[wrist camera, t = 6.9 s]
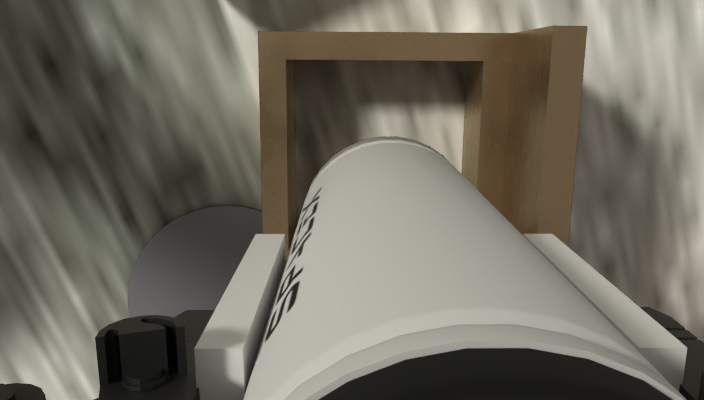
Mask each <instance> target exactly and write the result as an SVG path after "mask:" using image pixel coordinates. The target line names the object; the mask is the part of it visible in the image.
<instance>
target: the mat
mask: <svg viewBox="0 0 704 400" xmlns="http://www.w3.org/2000/svg"><path fill="white" fill-rule="evenodd" d="M255 234H263V221H262V211H260V210H257V209H253V208H248V207H243V206H232V205H223V206H212V207H206V208H201V209H198V210H195V211H192V212H189V213H187V214H185V215H183V216H180V217H178V218H176V219H175V220H173V221H172V222H170V223H169V224H167V225H166V226H165V227H163V228H162V229H161V230H160V231H159V232H158V233H157V234H156V235H154V236H153V237H152V239H151V240H150V241H149V242H148V243H147V245H146V246H145V247H144V249H143V250H142V252H141V253H140V255H139V257H138V259H137V261H136V263H135V265H134V268H133V271H132V274H131V278H130V281H129V289H128V309H129V316H130V318H131V317H137V316H145V315H162V316H170V317H173V318H174V317H176V316H177V315H179V314H181V313H182V312H184V311H186V310H215V309H216V307H217V305H218V303H219V302H220V300H221V298H222V296H223V294H224V292H225V290H226V289H227V287H228V285H229V283H230V281H231V279H232V277H233V275H234V274H235V272H236V270H237V268H238V266H239V264H240V262H241V261H242V259H243V257H244V255H245V253H246V251H247V249H248V248H249V246H250V244H251V242H252V240H253V238H254V236H255Z"/></svg>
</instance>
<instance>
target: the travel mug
mask: <svg viewBox="0 0 704 400" xmlns="http://www.w3.org/2000/svg"><path fill="white" fill-rule="evenodd" d="M243 400H686V399H685V398H684V397H683V396H682V395H681V394H680V393H679V392H678V391H677V390H676V389H675V388H674V387H673V386H672V385H671V384H670V383H669V382H668V381H667V380H666V379H665V378H664V377H663V376H662V375H661V374H660V373H659V372H658V371H657V370H656V369H655V368H654V367H653V366H652V365H651V364H650V363H649V362H648V361H647V360H646V359H645V358H644V357H643V356H642V355H641V354H640V353H639V352H638V351H637V350H636V349H635V348H634V346H633V345H632V344H631V343H630V342H629V341H628V340H627V339H626V338H625V337H624V336H623V335H622V334H621V333H620V332H619V331H618V330H617V329H616V328H615V327H614V326H613V325H612V324H611V323H610V322H609V321H608V320H607V319H606V318H605V317H604V316H603V315H602V314H601V313H600V312H599V311H598V310H597V309H596V308H595V307H594V306H593V305H592V304H591V303H590V302H589V301H588V300H587V299H586V298H585V297H584V296H583V295H582V294H581V293H580V292H579V291H578V290H577V289H576V288H575V287H574V286H573V285H572V284H571V283H570V282H569V281H568V280H567V279H566V278H565V277H564V276H563V275H562V274H561V273H560V272H559V271H558V270H557V269H556V268H555V267H554V266H553V265H552V264H551V263H550V262H549V261H548V260H547V259H546V258H545V257H544V256H543V255H542V254H541V253H540V252H539V251H538V250H537V249H536V248H535V247H534V246H533V245H532V244H531V243H530V242H529V241H528V240H527V239H526V238H525V237H524V236H523V235H522V234H521V233H520V232H519V231H518V230H517V229H516V228H515V227H514V226H513V225H512V224H511V223H510V222H509V221H508V220H507V219H506V218H505V217H504V216H503V215H502V214H501V213H500V212H499V211H498V210H497V209H496V208H495V207H494V206H493V205H492V204H491V203H490V202H489V201H488V200H487V199H486V198H485V197H484V196H483V195H482V194H481V193H480V192H479V191H478V190H477V189H476V188H475V187H474V186H473V185H472V184H471V183H470V182H469V181H468V180H467V179H466V178H465V177H464V176H463V175H462V174H461V173H460V172H459V171H458V170H457V169H456V168H455V167H454V166H453V165H452V164H451V163H450V162H449V161H448V160H447V159H446V158H445V157H444V156H443V155H441V154H440V153H438V152H437V151H435V150H434V149H432V148H431V147H430V146H427V145H425V144H422V143H420V142H418V141H415V140H412V139H406V138H401V137H376V138H371V139H366V140H362V141H360V142H357V143H355V144H352V145H350V146H348V147H346V148H344V149H343V150H341V151H340V152H338V153H337V154H335V155H334V156H333V157H332V158H331V159H330V160H329V161H328V162H327V163H326V164H325V165H324V166H323V167H322V168H321V169H320V171H319V172H318V174H317V175H316V177H315V178H314V180H313V181H312V183H311V186H310V188H309V191H308V193H307V196H306V198H305V202H304V205H303V208H302V211H301V215H300V218H299V221H298V224H297V228H296V231H295V234H294V237H293V241H292V244H291V247H290V250H289V254H288V257H287V260H286V263H285V266H284V270H283V273H282V276H281V279H280V283H279V286H278V289H277V292H276V296H275V299H274V302H273V305H272V309H271V312H270V315H269V318H268V322H267V325H266V328H265V331H264V335H263V338H262V341H261V344H260V347H259V351H258V354H257V357H256V360H255V364H254V367H253V370H252V373H251V377H250V380H249V383H248V386H247V390H246V393H245V396H244V399H243Z"/></svg>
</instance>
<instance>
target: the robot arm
mask: <svg viewBox="0 0 704 400" xmlns="http://www.w3.org/2000/svg"><path fill="white" fill-rule="evenodd" d="M523 236H524V237H525V238H526V239H527V240H528V241H529V242H530V243H531V244H532V245H533V246H534V247H535V248H536V249H537V250H538V251H539V252H540V253H541V254H542V255H543V256H544V257H545V258H546V259H547V260H548V261H549V262H550V263H551V264H552V265H553V266H554V267H555V268H556V269H557V270H558V271H559V272H560V273H561V274H562V275H563V276H564V277H565V278H566V279H567V280H568V281H569V282H570V283H571V284H572V285H573V286H574V287H575V288H576V289H577V290H578V291H579V292H580V293H581V294H582V295H583V296H584V297H585V298H586V299H587V300H588V301H589V302H590V303H591V304H592V305H593V306H594V307H595V308H596V309H597V310H598V311H599V312H600V313H601V314H602V315H603V316H604V317H605V318H606V319H607V320H608V321H609V322H610V323H611V324H612V325H613V326H614V327H615V328H616V329H617V330H618V331H619V332H620V333H621V334H622V335H623V336H624V337H625V338H626V339H627V340H628V341H629V342H630V343H631V344H632V345H633V346H634V348H635V349H636V350H637V351H638V352H639V353H640V354H641V355H642V356H643V357H644V358H645V359H646V360H647V361H648V362H649V363H650V364H651V365H652V366H653V367H654V368H655V369H656V370H657V371H658V372H659V373H660V374H661V375H662V376H663V377H664V378H665V379H666V380H667V381H668V382H669V383H670V384H671V385H672V386H673V387H674V388H675V389H676V390H677V391H678V392H679V393H680V394H681V395H682V396H683V397H684V398H685V399H686V400H704V343H703V342H702V341H700V340H697V337H695V336H694V335H693V334H692V333H690V332H689V331H688V330H685V328H684V327H683V326H681V325H680V324H679V323H678V322H676V321H675V320H674V319H673V318H671V317H670V316H667V315H665V314H663V313H661V312H658V311H656V310H654V309H652V308H649V307H639V306H637V305H636V304H635V303H634V302H633V301H632V300H630V299H629V298H628V297H627V296H626V295H624V294H623V293H622V292H621V291H620V290H618V289H617V288H616V287H615V286H614V285H613V284H611V283H610V282H609V281H608V280H607V279H605V278H604V277H603V276H602V275H601V274H599V273H598V272H597V271H596V270H595V269H594V268H592V267H591V266H590V265H589V264H588V263H586V262H585V261H584V260H583V259H582V258H580V257H579V256H578V255H577V254H576V253H575V252H573V251H572V250H571V249H570V248H569V247H567V246H566V245H565V244H564V243H563V242H561V241H560V240H559V239H558V238H557V237H556V236H554V235H553V234H523ZM285 263H286V261H285V234H255V236H254V238H253V240H252V242H251V244H250V246H249V248H248V249H247V251H246V253H245V255H244V257H243V259H242V261H241V262H240V264H239V266H238V268H237V270H236V272H235V274H234V275H233V277H232V279H231V281H230V283H229V285H228V287H227V289H226V290H225V292H224V294H223V296H222V298H221V300H220V302H219V303H218V305H217V307H216V309H215V310H186V311H184V312H182V313H181V314H179V315H177V316H176V317H174V318H173V317H170V316H162V315H145V316H137V317H131V318H126V319H123V320H120V321H117V322H114V323H112V324H109V325H108V326H106V327H105V328H103V329H102V330H100V331H99V333H98V334H97V336H96V337H95V340H96V350H97V360H98V370H99V380H100V392H99V398H97V399H94V400H243V399H244V396H245V393H246V390H247V386H248V383H249V380H250V377H251V373H252V370H253V367H254V364H255V360H256V357H257V354H258V351H259V347H260V344H261V341H262V338H263V335H264V331H265V328H266V325H267V322H268V318H269V315H270V312H271V309H272V305H273V302H274V299H275V296H276V292H277V289H278V286H279V283H280V279H281V276H282V273H283V270H284V266H285ZM0 400H46V398H45V394H44V392H43V391H42V389H41V388H39V387H37V386H34V385H32V384H20V383H13V384H0Z"/></svg>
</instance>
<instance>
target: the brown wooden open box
mask: <svg viewBox="0 0 704 400" xmlns="http://www.w3.org/2000/svg"><path fill="white" fill-rule="evenodd" d="M586 35H587V26H549V27H544V28H538V29H533V30H527V31H522V32H517V33H418V32H300V31H258V55H259V97H260V138H261V179H262V221H263V234H285V261H286V260H287V257H288V254H289V250H290V247H291V244H292V241H293V237H294V234H295V231H296V228H297V227H296V201H295V118H294V60H370V61H467V73H466V94H465V115H464V136H463V157H462V175H463V176H464V177H465V178H466V179H467V180H468V181H469V182H470V183H471V184H472V185H473V186H474V187H475V188H476V189H477V190H478V191H479V192H480V193H481V194H482V195H483V196H484V197H485V198H486V199H487V200H488V201H489V202H490V203H491V204H492V205H493V206H494V207H495V208H496V209H497V210H498V211H499V212H500V213H501V214H502V215H503V216H504V217H505V218H506V219H507V220H508V221H509V222H510V223H511V224H512V225H513V226H514V227H515V228H516V229H517V230H518V231H519V232H520V233H521V234H522V235H523V234H553V235H554V236H556V237H557V238H558V239H559V240H560V241H561V242H563V243H564V244H565V245H566V246H567V247H568V240H569V229H570V218H571V206H572V195H573V183H574V172H575V161H576V149H577V138H578V127H579V115H580V104H581V92H582V81H583V70H584V58H585V47H586Z"/></svg>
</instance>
